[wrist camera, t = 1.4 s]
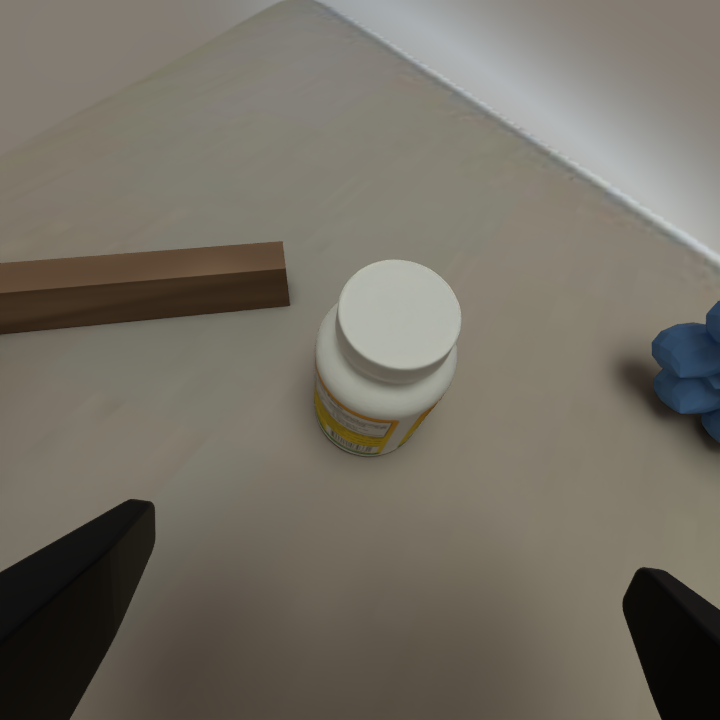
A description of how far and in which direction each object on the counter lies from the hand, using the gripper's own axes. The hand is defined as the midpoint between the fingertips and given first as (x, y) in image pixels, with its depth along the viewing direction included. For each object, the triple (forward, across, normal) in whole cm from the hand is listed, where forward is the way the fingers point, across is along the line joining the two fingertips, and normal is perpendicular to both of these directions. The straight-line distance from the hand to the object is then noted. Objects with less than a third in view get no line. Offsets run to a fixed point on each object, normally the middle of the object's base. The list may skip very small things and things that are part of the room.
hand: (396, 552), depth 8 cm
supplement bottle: (+14, 0, +4) cm, 15 cm away
